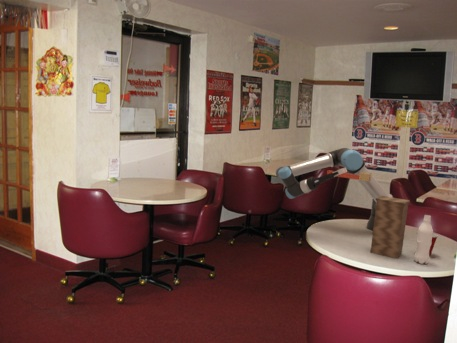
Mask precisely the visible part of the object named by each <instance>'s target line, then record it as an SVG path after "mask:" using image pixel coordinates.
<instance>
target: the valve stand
mask: <svg viewBox="0 0 457 343" xmlns="http://www.w3.org/2000/svg"><path fill="white" fill-rule="evenodd" d="M393 197H394V196H393ZM393 197H387V196H380V197H378V198H376V201H377V203H376V211H375V219H374V227H373V230H372V238H371V244H370V245H371V247H370V253H371V254H375V255H379V256H385V257H389V258H392V259H399V257H401V255H402V254H403V246H404V238H405V233H406V232H405V231H406V226H407V225H406V223H407V217H408V216H407V215H408V210H409V204H410V202H411V200H410V199H402V198H396V197H394V198H393Z"/></svg>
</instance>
